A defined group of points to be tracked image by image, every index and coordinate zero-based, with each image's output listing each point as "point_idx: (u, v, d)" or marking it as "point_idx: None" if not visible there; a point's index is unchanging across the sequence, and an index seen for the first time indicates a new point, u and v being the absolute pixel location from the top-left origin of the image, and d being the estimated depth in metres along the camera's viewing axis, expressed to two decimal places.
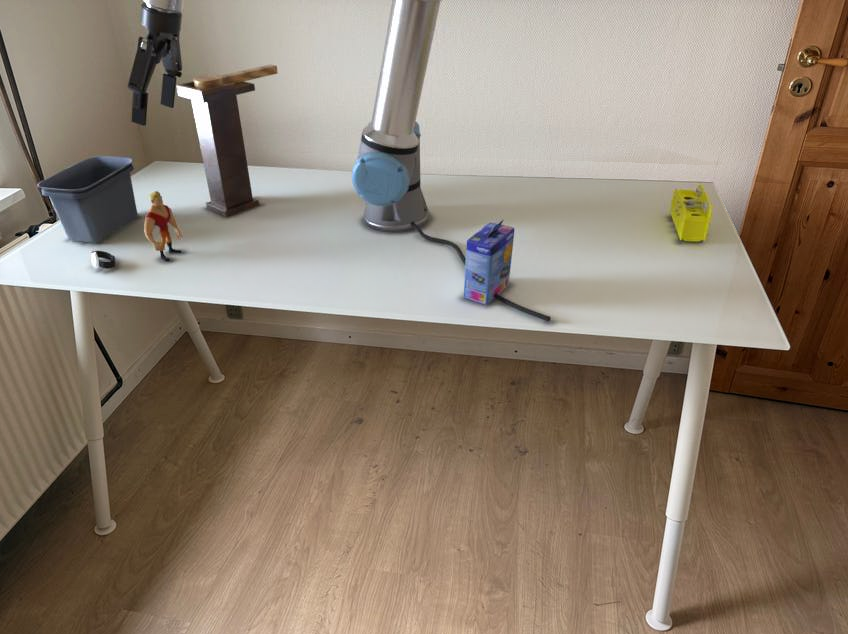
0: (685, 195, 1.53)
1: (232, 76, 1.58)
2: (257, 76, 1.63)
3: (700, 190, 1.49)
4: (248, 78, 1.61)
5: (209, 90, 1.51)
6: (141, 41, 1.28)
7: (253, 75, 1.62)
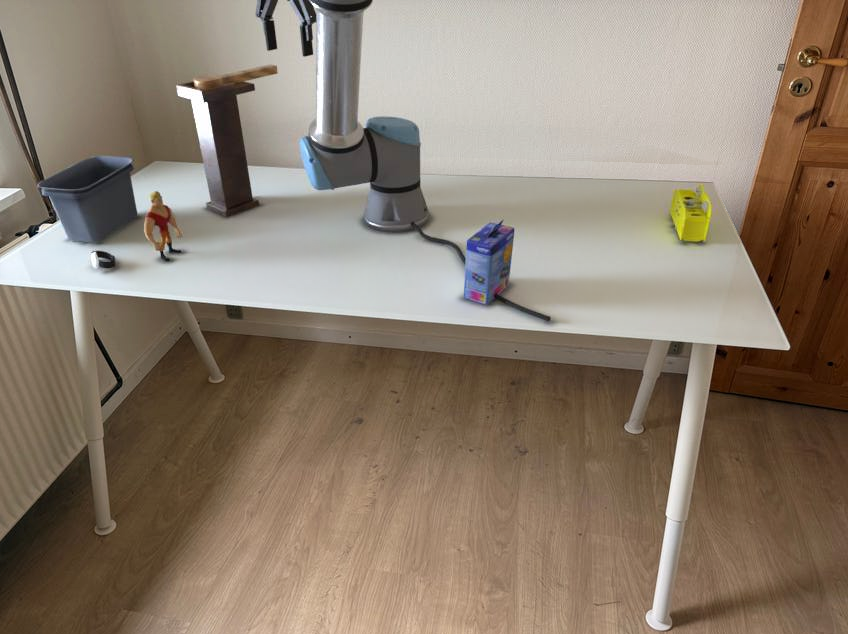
0: (685, 195, 1.53)
1: (232, 76, 1.58)
2: (257, 76, 1.63)
3: (700, 190, 1.49)
4: (248, 78, 1.61)
5: (209, 90, 1.51)
6: None
7: (253, 75, 1.62)
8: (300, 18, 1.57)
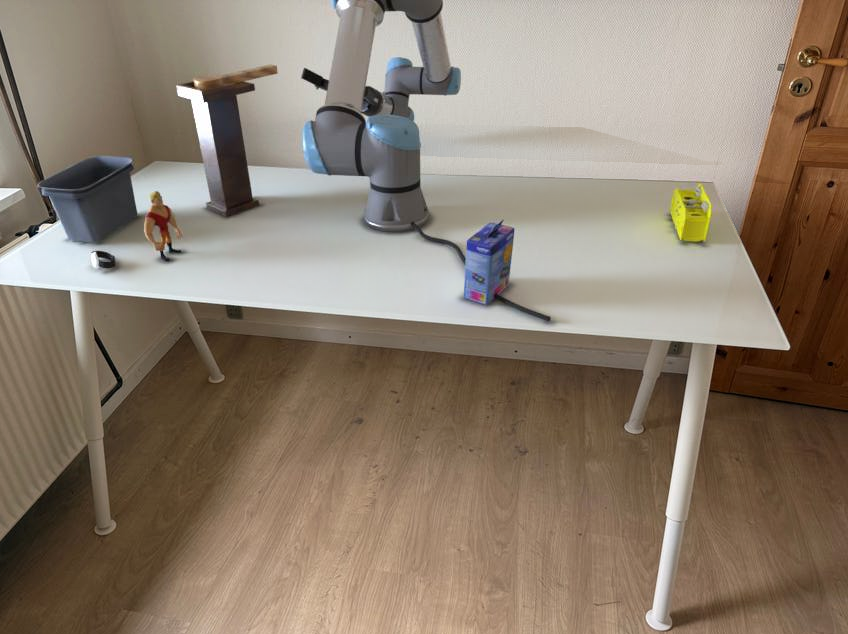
0: (685, 195, 1.53)
1: (232, 76, 1.58)
2: (257, 76, 1.63)
3: (700, 190, 1.49)
4: (248, 78, 1.61)
5: (209, 90, 1.51)
6: (377, 98, 1.85)
7: (253, 75, 1.62)
8: None
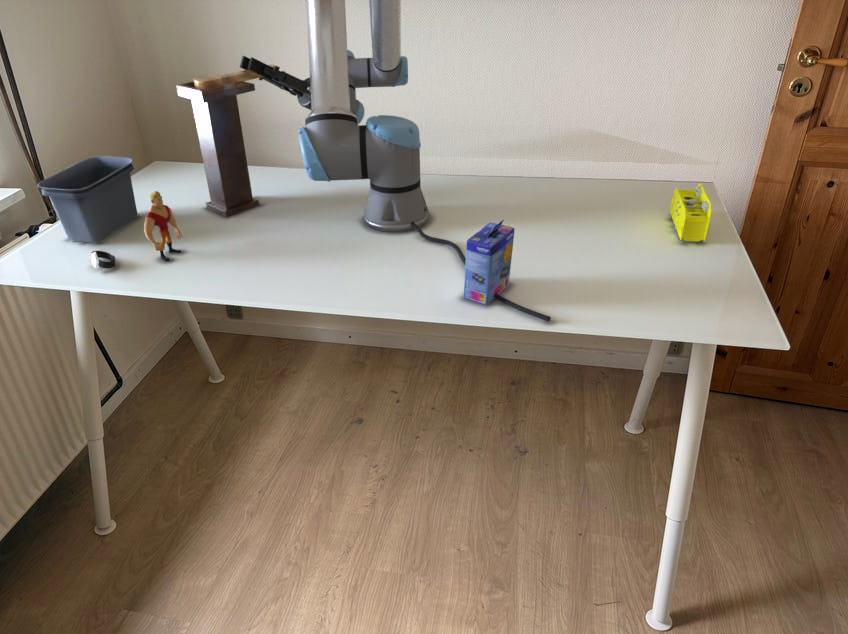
0: (685, 195, 1.53)
1: (232, 76, 1.58)
2: (257, 76, 1.63)
3: (700, 190, 1.49)
4: (248, 78, 1.61)
5: (209, 90, 1.51)
6: None
7: (253, 75, 1.62)
8: None
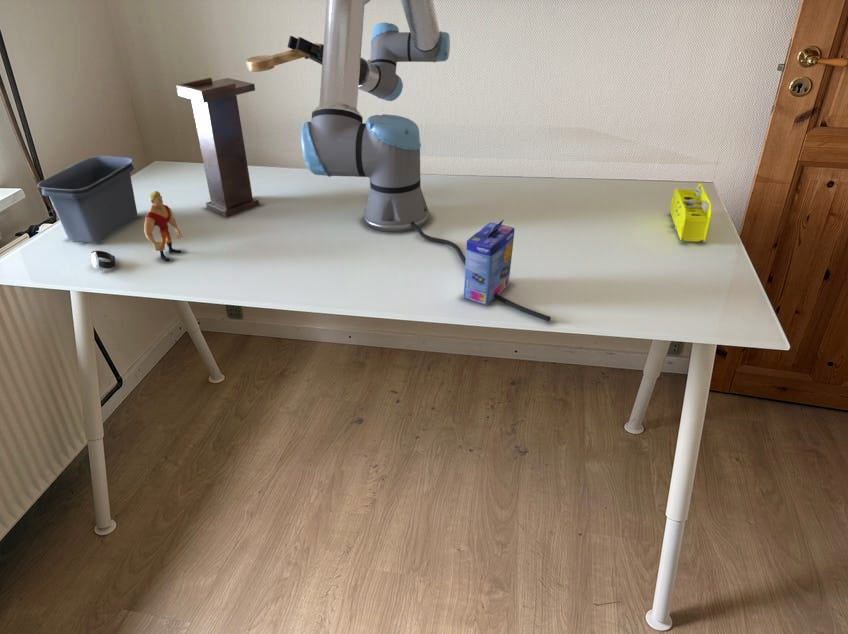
0: (685, 195, 1.53)
1: (282, 56, 1.65)
2: (304, 55, 1.69)
3: (700, 190, 1.49)
4: (296, 57, 1.68)
5: (209, 90, 1.51)
6: None
7: (301, 54, 1.69)
8: None
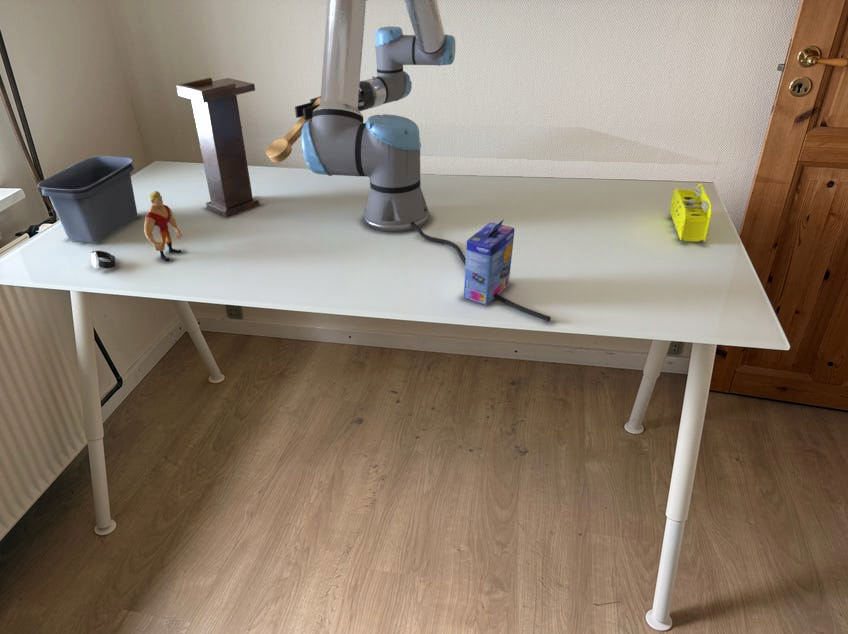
0: (685, 195, 1.53)
1: (294, 134, 1.77)
2: None
3: (700, 190, 1.49)
4: None
5: (209, 90, 1.51)
6: (361, 101, 1.82)
7: (310, 120, 1.78)
8: None
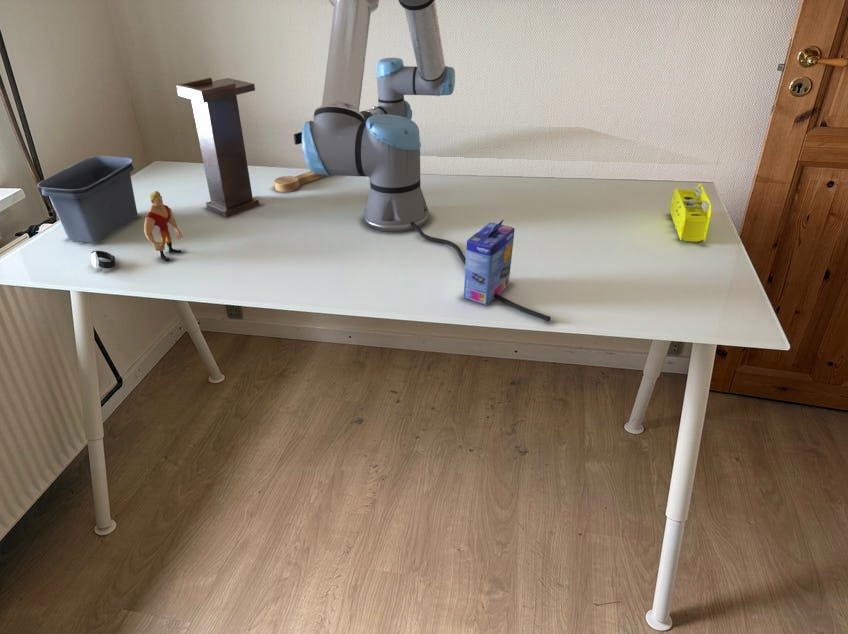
0: (685, 195, 1.53)
1: (306, 177, 1.85)
2: (325, 175, 1.89)
3: (700, 190, 1.49)
4: (318, 177, 1.88)
5: (209, 90, 1.51)
6: None
7: None
8: None
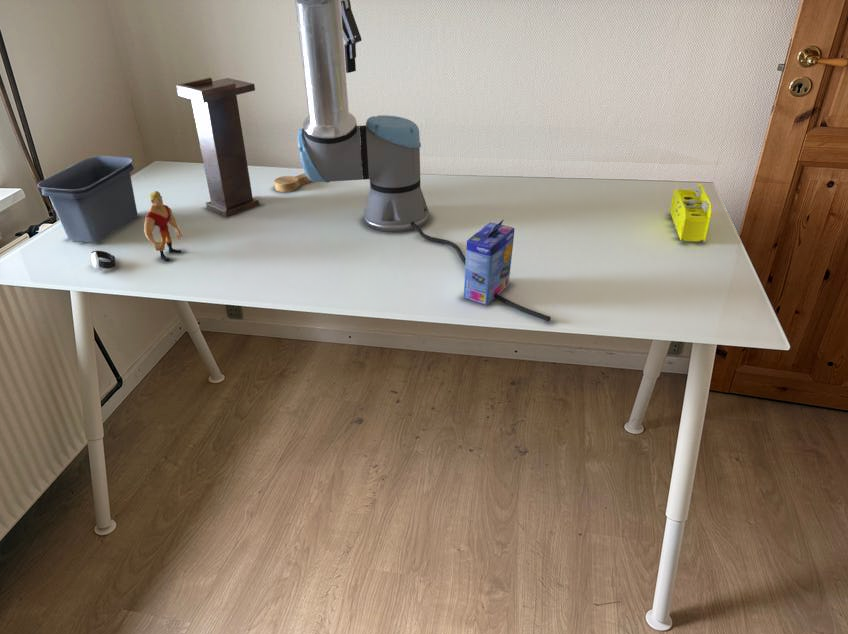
0: (685, 195, 1.53)
1: (306, 177, 1.85)
2: None
3: (700, 190, 1.49)
4: None
5: (209, 90, 1.51)
6: (344, 3, 1.66)
7: None
8: (345, 38, 1.70)
